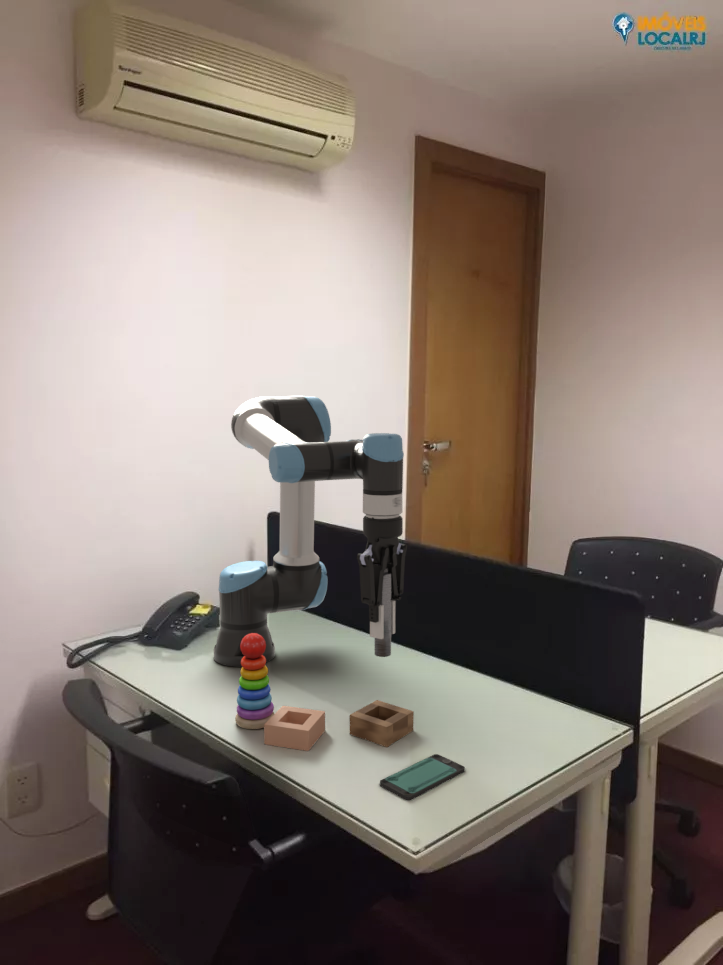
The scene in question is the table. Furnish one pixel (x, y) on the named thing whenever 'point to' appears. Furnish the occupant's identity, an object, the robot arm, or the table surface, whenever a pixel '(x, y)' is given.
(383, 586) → the grey capped cylinder
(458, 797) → the table surface
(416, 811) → the table surface
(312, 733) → the pink square socket block
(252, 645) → the stacking toy
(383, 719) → the brown wooden square holder
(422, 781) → the smartphone
